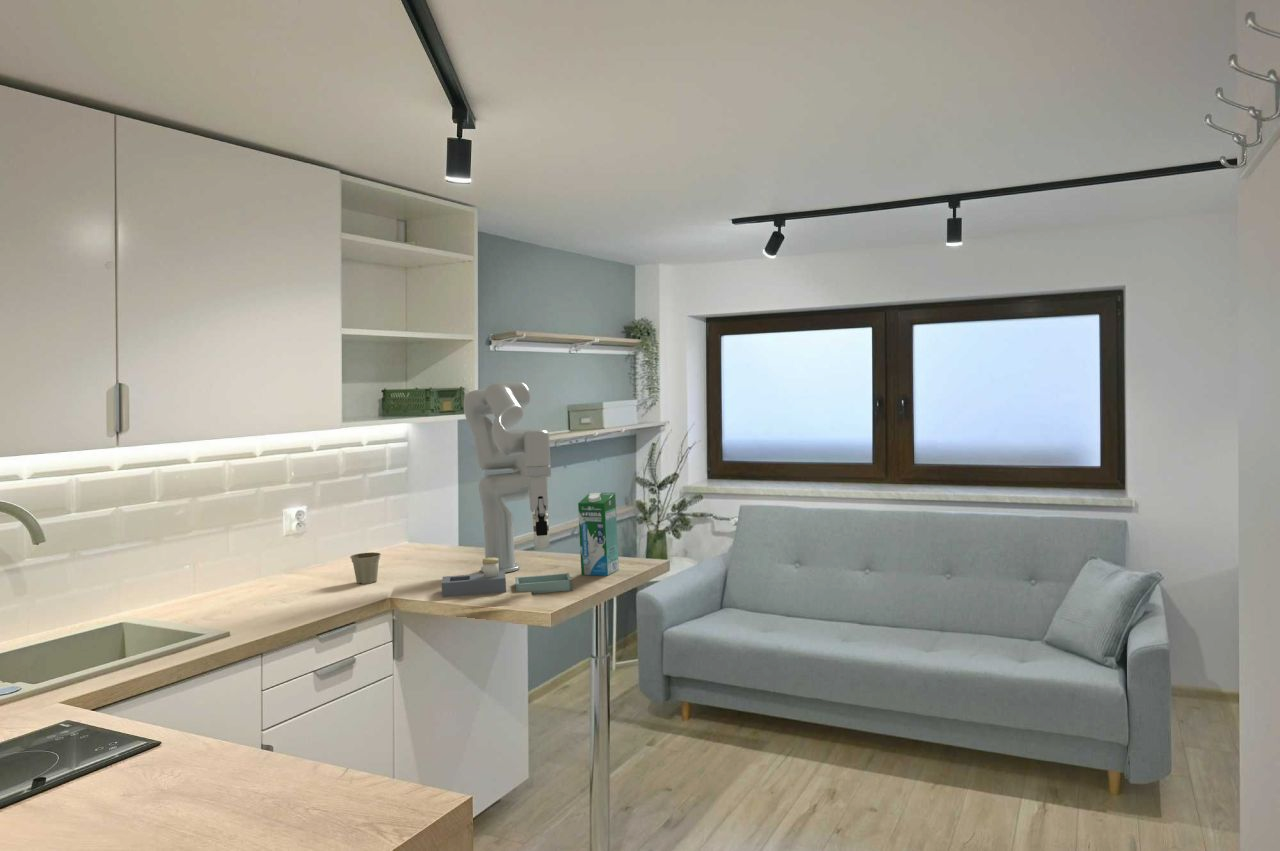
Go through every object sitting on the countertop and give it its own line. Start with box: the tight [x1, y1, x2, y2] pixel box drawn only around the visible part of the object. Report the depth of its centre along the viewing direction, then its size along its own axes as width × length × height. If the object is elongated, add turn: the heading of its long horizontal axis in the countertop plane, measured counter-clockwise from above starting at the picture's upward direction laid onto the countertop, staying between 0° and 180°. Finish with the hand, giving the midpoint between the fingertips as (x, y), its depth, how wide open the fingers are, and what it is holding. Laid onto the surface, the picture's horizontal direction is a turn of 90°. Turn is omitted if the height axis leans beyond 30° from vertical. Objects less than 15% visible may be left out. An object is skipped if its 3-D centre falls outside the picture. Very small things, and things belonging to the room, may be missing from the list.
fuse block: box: [441, 557, 507, 598], centre depth 258 cm, size 9×18×10 cm, turn 100°
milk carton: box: [577, 492, 619, 577], centre depth 281 cm, size 9×9×25 cm
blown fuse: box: [532, 512, 551, 550], centre depth 260 cm, size 5×5×10 cm
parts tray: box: [514, 573, 573, 595], centre depth 261 cm, size 10×16×3 cm, turn 100°
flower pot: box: [349, 552, 382, 585], centre depth 281 cm, size 9×9×9 cm
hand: (541, 533), depth 260 cm, fingers closed on blown fuse, 4 cm apart
